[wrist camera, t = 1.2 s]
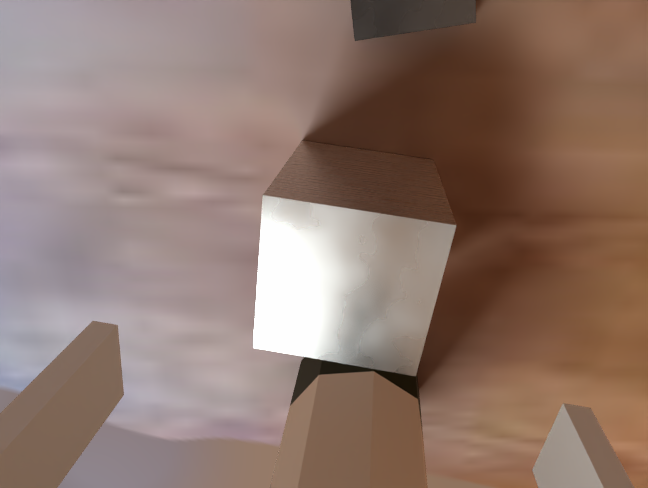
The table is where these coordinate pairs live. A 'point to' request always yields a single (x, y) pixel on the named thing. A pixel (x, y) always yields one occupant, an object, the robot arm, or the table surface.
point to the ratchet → (408, 16)
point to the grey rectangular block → (352, 257)
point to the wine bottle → (351, 430)
